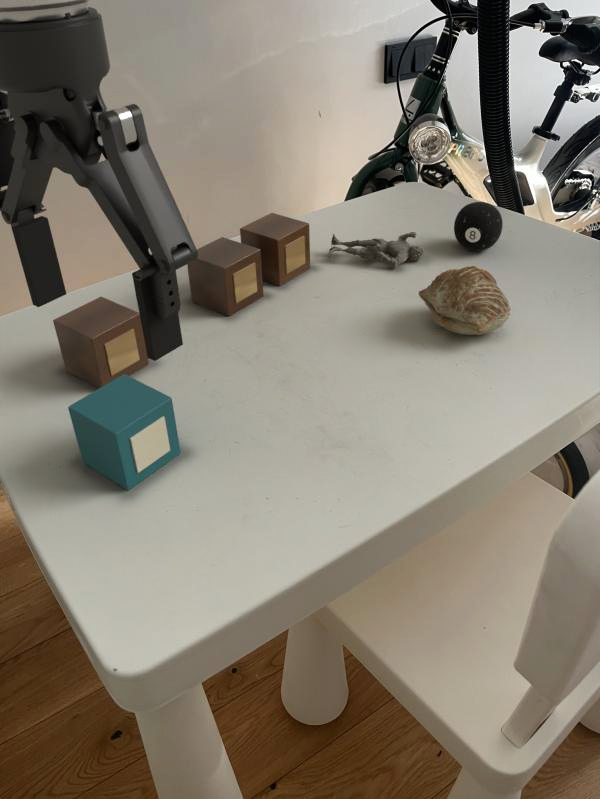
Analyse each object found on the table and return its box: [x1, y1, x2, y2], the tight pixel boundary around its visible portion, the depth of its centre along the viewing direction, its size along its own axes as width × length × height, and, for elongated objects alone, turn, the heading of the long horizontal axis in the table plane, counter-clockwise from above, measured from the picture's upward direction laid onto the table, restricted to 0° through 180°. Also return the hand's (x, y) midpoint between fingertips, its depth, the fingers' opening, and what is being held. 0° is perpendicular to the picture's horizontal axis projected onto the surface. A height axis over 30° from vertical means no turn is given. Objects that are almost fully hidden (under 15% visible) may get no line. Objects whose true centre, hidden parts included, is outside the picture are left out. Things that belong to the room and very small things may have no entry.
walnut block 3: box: [239, 212, 311, 287], centre depth 90 cm, size 6×6×6 cm
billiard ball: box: [453, 201, 504, 252], centre depth 94 cm, size 6×6×6 cm
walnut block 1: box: [52, 296, 150, 389], centre depth 74 cm, size 6×6×6 cm
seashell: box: [418, 265, 511, 336], centre depth 78 cm, size 9×7×8 cm
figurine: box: [328, 231, 425, 269], centre depth 93 cm, size 6×4×12 cm
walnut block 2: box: [186, 236, 264, 317], centre depth 85 cm, size 6×6×6 cm
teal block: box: [67, 374, 181, 491], centre depth 62 cm, size 6×6×6 cm
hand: (104, 324), depth 56 cm, fingers open, 13 cm apart
